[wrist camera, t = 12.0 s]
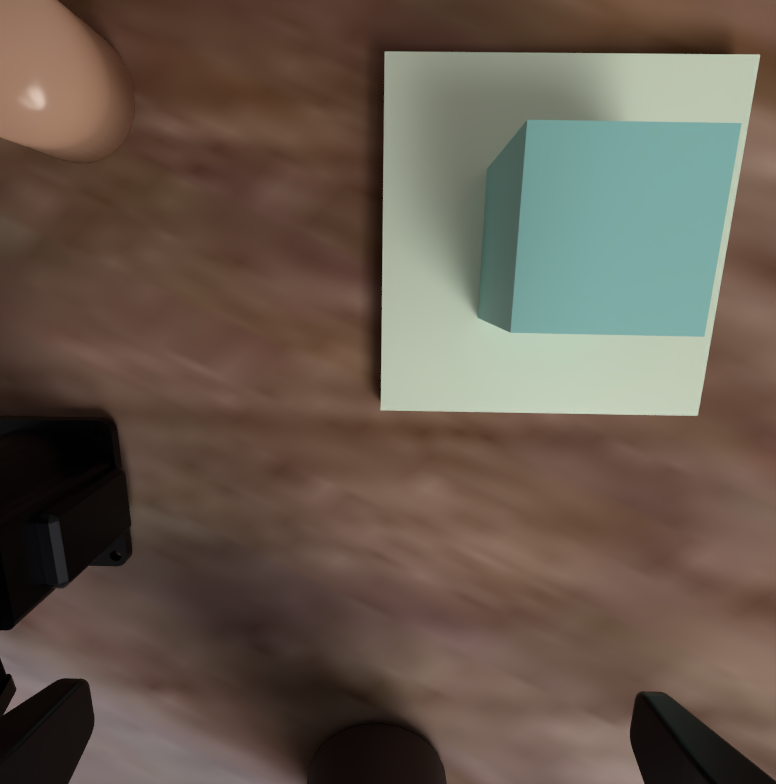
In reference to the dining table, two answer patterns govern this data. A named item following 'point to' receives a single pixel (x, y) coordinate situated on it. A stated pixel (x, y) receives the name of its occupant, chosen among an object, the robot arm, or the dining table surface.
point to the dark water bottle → (376, 758)
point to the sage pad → (466, 219)
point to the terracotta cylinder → (61, 83)
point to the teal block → (605, 227)
